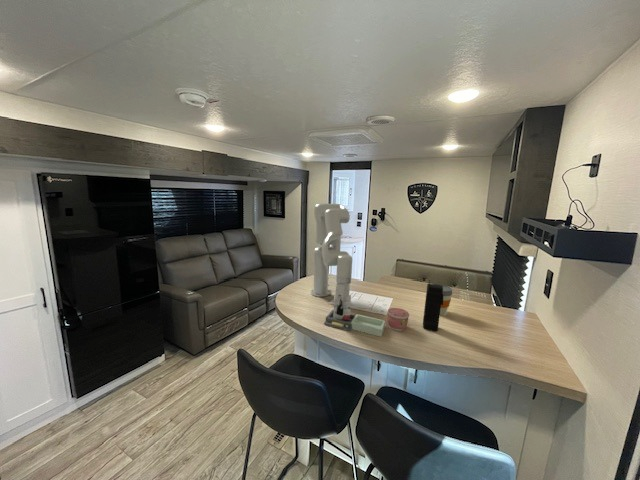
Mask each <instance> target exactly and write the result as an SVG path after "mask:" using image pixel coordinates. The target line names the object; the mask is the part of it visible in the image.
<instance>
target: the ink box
mask: <svg viewBox="0 0 640 480" xmlns="http://www.w3.org/2000/svg"><path fill="white" fill-rule="evenodd" d="M340 302H342V301H340ZM351 303H352V296H351V295H350V294H349V295H348V297H347V298H346V300H345V302H344V303H343V316H341V315H337V305H336V304H337V302H335V294H334V295H333V310H334V313H333V318H334V319H343V320H350V314H351V306H352V304H351ZM340 304H341V305H342V303H340Z"/></svg>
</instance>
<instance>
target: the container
mask: <svg viewBox="0 0 640 480" xmlns="http://www.w3.org/2000/svg"><path fill="white" fill-rule="evenodd" d="M386 312H387V324H388V326H389V328H390V329H391V330H394V331H396V330H397V332H402V331H404V330H405V329H406V328H407V326H408V325H409V324H408V323H409V317H410V313H409V311H408V310H406V309H403V308H399V307H391V308H388V309H387V311H386Z"/></svg>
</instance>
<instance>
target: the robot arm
mask: <svg viewBox="0 0 640 480" xmlns="http://www.w3.org/2000/svg"><path fill="white" fill-rule="evenodd" d="M313 215H314V218H315V223H316V225H315V226H316V227H315V231H316V232H315V242H316V244H317V245H319V246H317V247H315V248H314V249H313V251H312V252H313V253H312V256H313V262H314V263H313V264H314V265H313V288H312V290H311V291H310V294H311V295H312V296H314V297H318V298H319V297H321V298H324V297H328V296H330V295H331V291H330V290H329V288H328V287H330V285H329V272H330V270H329V268H330V267H336V275H335V276H336V277H335V278H336V279H335V280H336V281H335V282H336V286H335V292H334V295H335V302H337V304H336V305H337V315H341V316H343V303H344V302H345V300H346V298H347V297H348V295H350V288H351V287H350V284H351V283H352V270H353V257H352V256H351V255H350V254H349V253H348V252H347V251H345V250H344V251H343V250H342V251H341V245H342V244H341V240H342V238H341V236H343V233H344V232H343V229H342V224H348V223H349V221H350V219H351V218H350V216H351V215H350V212H349V209H348V208H347V207H345V206H344V205H342V204H340V203H318V204H316V205H314V208H313ZM340 301H342V302H340ZM340 303H342V305H341V304H340Z"/></svg>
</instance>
